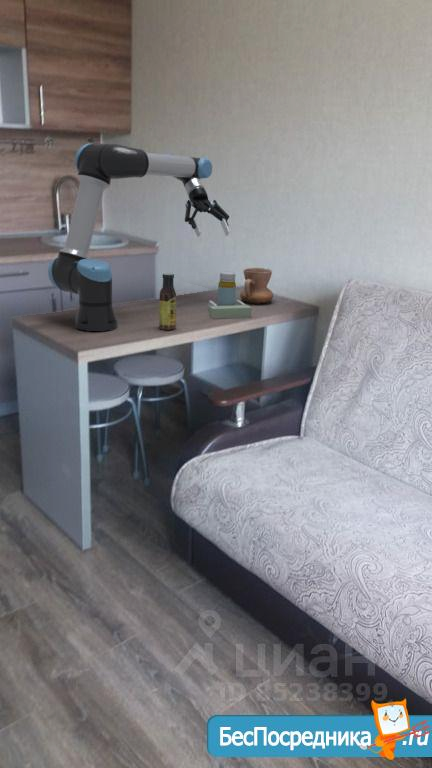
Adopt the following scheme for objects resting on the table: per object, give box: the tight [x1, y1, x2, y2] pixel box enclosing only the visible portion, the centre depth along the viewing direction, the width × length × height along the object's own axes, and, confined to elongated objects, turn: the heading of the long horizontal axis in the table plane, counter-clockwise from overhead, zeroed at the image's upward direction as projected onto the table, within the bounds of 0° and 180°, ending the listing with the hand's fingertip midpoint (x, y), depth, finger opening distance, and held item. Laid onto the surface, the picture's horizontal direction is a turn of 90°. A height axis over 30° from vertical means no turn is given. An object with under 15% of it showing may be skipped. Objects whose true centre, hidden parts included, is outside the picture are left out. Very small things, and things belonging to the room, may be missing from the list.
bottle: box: [216, 271, 237, 306], centre depth 242 cm, size 7×7×15 cm
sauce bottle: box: [158, 272, 178, 331], centre depth 217 cm, size 7×6×20 cm
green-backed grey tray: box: [207, 299, 252, 320], centre depth 242 cm, size 16×13×4 cm
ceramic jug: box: [239, 267, 274, 305], centre depth 263 cm, size 18×14×14 cm
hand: (213, 234), depth 245 cm, fingers open, 13 cm apart
